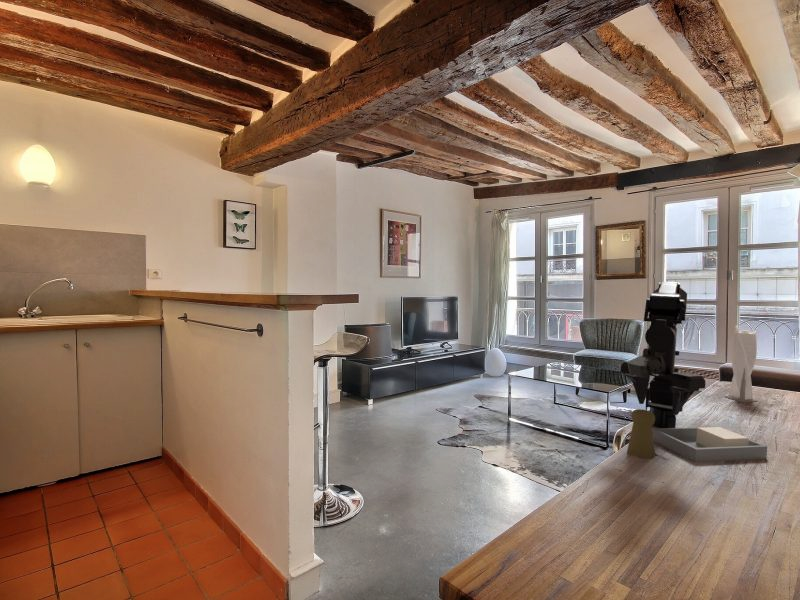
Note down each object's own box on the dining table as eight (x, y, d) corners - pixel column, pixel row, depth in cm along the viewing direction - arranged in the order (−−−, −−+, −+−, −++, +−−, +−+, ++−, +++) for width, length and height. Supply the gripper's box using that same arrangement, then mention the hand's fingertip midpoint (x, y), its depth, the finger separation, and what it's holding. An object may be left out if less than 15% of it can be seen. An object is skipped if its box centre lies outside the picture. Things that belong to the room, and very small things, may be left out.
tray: (650, 443, 115) (651, 428, 115) (714, 440, 118) (715, 426, 118) (695, 466, 101) (696, 449, 101) (766, 462, 104) (767, 446, 104)
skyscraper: (720, 396, 168) (726, 325, 166) (737, 395, 170) (742, 325, 168) (742, 402, 159) (748, 327, 158) (759, 401, 161) (765, 327, 160)
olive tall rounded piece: (653, 451, 109) (655, 409, 108) (656, 460, 103) (659, 415, 103) (626, 447, 112) (629, 405, 111) (627, 455, 106) (630, 411, 105)
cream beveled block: (696, 442, 114) (697, 427, 113) (718, 441, 115) (719, 426, 115) (723, 454, 106) (724, 439, 106) (747, 453, 107) (748, 438, 107)
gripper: (605, 340, 110) (602, 400, 111) (672, 352, 92) (668, 423, 93) (638, 340, 114) (635, 398, 114) (709, 351, 96) (704, 420, 97)
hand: (657, 409), depth 105 cm, fingers open, 9 cm apart
